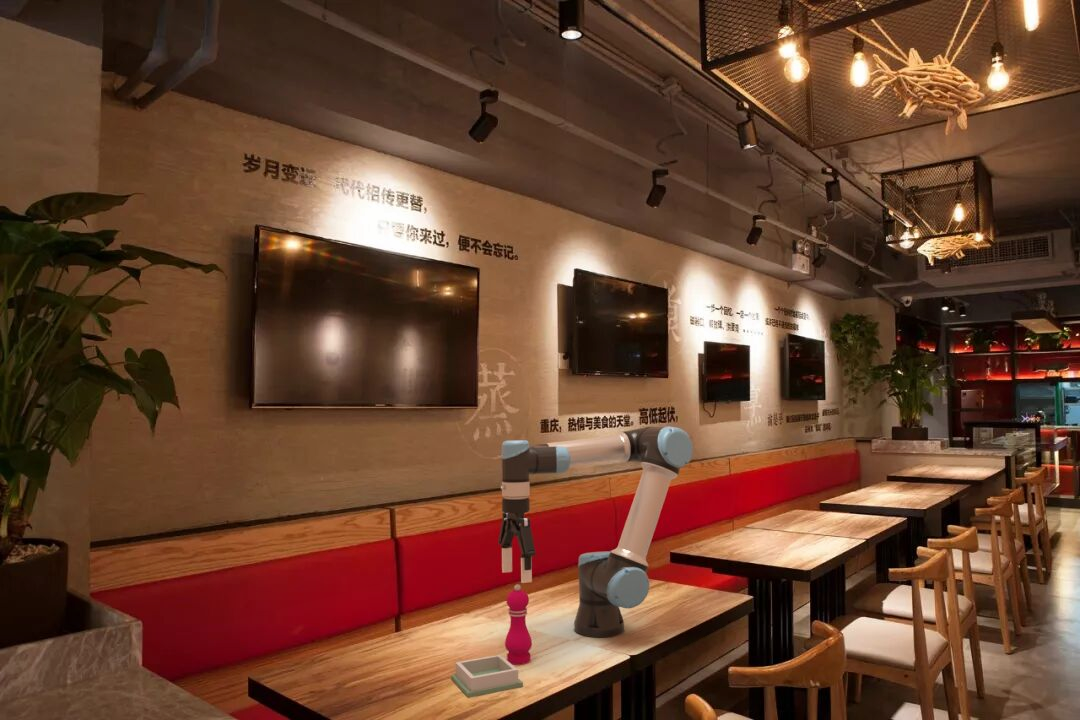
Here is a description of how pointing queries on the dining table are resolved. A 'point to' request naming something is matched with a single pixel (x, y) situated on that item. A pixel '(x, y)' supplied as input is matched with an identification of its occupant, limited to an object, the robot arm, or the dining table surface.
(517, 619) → the pepper mill
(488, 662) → the deck socket
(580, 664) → the dining table surface
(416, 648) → the dining table surface
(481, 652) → the dining table surface
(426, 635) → the dining table surface
